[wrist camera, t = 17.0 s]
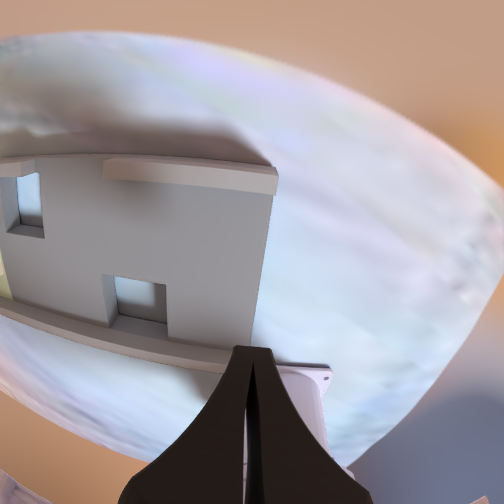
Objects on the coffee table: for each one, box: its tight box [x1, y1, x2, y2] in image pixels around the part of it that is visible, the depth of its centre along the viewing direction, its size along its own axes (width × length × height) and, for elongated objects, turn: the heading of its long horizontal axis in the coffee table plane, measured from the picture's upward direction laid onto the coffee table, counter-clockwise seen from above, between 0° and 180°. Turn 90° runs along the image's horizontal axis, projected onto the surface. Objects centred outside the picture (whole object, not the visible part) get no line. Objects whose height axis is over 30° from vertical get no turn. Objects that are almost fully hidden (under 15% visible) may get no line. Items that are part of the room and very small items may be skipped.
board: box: [0, 154, 279, 374], centre depth 18 cm, size 14×28×4 cm, turn 83°
